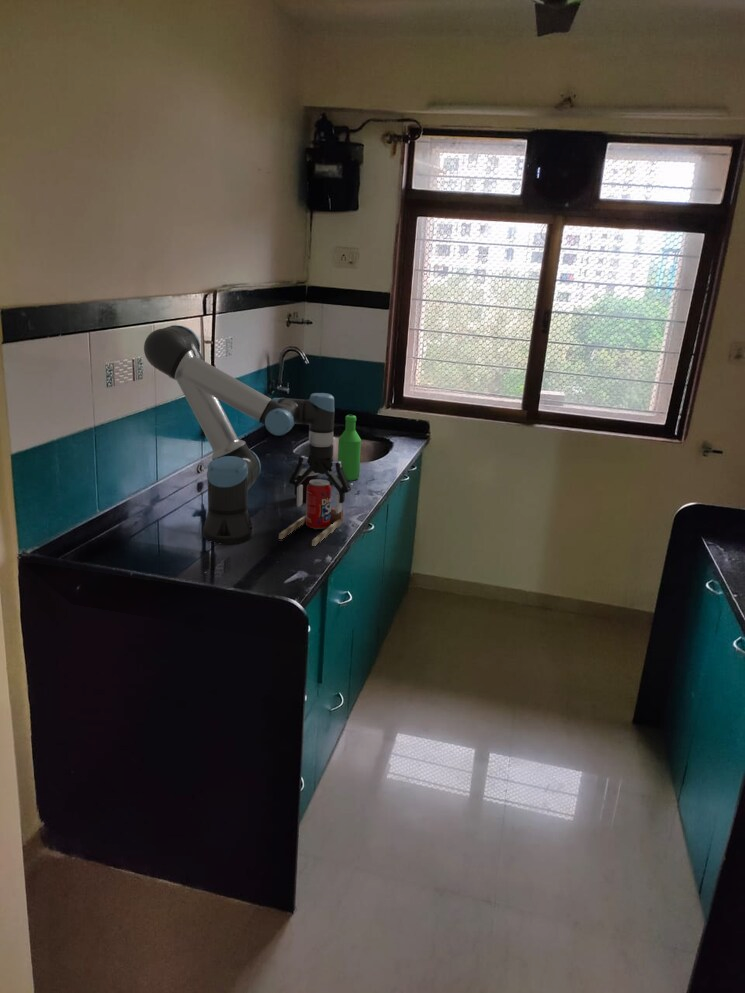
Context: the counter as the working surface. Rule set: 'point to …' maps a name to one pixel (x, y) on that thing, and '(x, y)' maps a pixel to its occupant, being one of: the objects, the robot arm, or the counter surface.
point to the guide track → (335, 519)
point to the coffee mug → (306, 482)
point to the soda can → (318, 504)
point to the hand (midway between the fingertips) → (318, 508)
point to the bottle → (350, 449)
